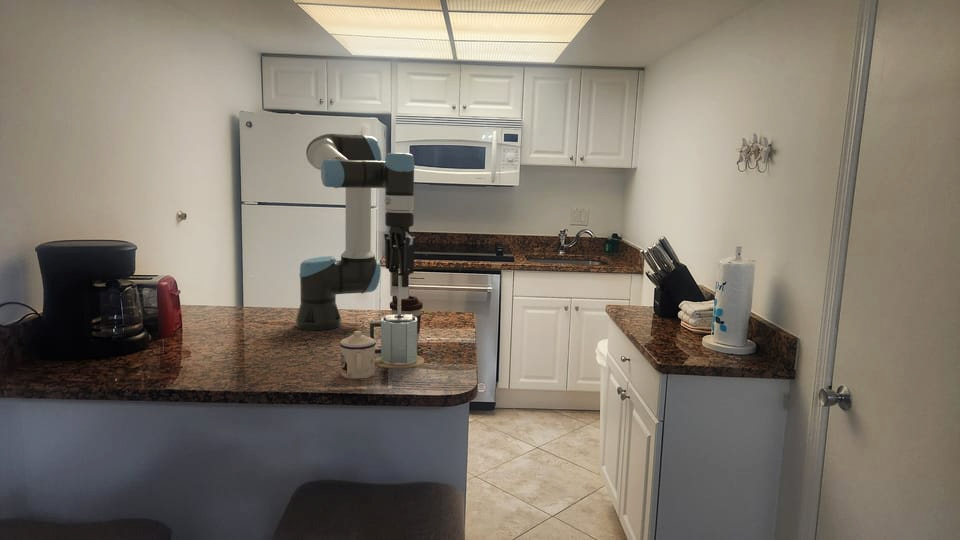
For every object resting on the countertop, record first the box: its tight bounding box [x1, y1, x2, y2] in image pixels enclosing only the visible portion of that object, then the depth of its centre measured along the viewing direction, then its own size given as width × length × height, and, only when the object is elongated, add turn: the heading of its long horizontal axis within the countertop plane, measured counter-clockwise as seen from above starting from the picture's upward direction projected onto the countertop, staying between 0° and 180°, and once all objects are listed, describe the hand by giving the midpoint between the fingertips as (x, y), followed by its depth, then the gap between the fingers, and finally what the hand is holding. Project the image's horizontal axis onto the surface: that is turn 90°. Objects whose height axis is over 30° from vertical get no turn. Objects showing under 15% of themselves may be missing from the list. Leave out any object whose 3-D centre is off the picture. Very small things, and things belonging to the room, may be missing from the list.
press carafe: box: [369, 314, 418, 366], centre depth 167 cm, size 10×13×12 cm
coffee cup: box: [389, 295, 424, 346], centre depth 184 cm, size 10×10×15 cm
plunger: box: [392, 271, 401, 323], centre depth 166 cm, size 8×8×19 cm
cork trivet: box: [375, 354, 425, 369], centre depth 168 cm, size 14×14×1 cm
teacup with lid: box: [339, 330, 377, 379], centre depth 155 cm, size 12×9×12 cm
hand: (399, 296), depth 165 cm, fingers closed on plunger, 4 cm apart
